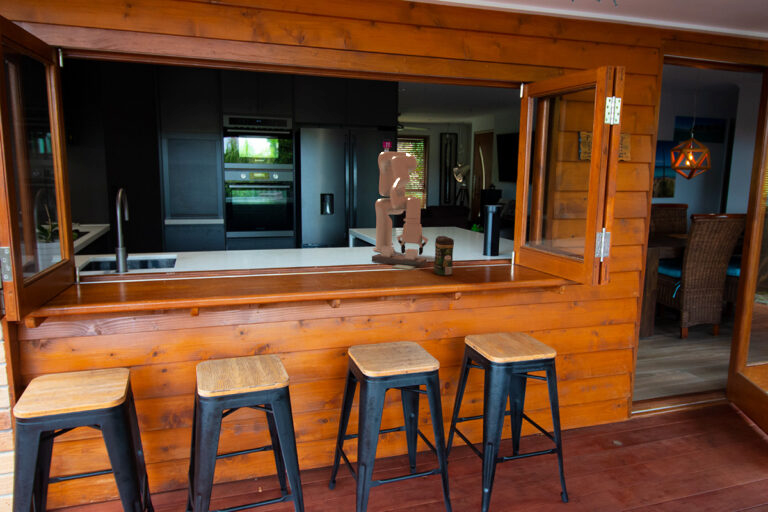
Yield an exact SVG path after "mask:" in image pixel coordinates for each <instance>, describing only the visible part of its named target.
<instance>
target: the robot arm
mask: <svg viewBox="0 0 768 512" xmlns="http://www.w3.org/2000/svg"><path fill="white" fill-rule="evenodd" d="M417 161H418V160H417V159H416V158H415V156H414V155H412V154H411V153H408V152H403V151H382V152H381V153H379V155H378V159H377V163H378V169H379V183H378V192H379V195H380V196H382V198H379V199H377V200H376V201H375V206H374V207H375V215H376V222H375V223H376V225H375V226H376V227H375V229H376V230H375V247H373V249H372V250H373V252H377V253H381V247H384V246H389V247H394V246H393V245H394V243H393V241H392V240H393V220H392V218H391V216H389V215H402V214H403V213H404V211H405V218H403V222H405V223H404V224H403V229H402V234H400V235H398V236H396V240H397V242H398V244H400V252H401V254H405V250H406V244H413V245H415V244H416V245H418V246H419V248H418V256H421V255H422V254H423V253H424V247H425V246H426V245H427V244H428V242H429V238H427V237H426V236H424V235H423V227H422V224H421V209H422V208H421V207H422V200H421V198H420V197H416V196H411V195H410V196H407V195H406V194H407V193H406V192H407V189H406V185H408V184H409V183H410V181H411V177H410V172H414V171H416V169H418V168H417V166H418V162H417ZM383 197H384V198H383ZM385 197H386V198H385ZM388 197H389V198H388Z"/></svg>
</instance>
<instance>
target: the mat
mask: <svg viewBox="0 0 768 512" xmlns="http://www.w3.org/2000/svg"><path fill="white" fill-rule="evenodd" d="M391 268H392V269H398V270H406V271H411V270H414V269H416V267H414V266H405V265H396V264H394V265H393V266H391Z"/></svg>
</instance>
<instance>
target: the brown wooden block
mask: <svg viewBox="0 0 768 512" xmlns="http://www.w3.org/2000/svg"><path fill="white" fill-rule="evenodd" d="M380 254H381V257H388V258H391V257H394V254H395V247H394V246H392V247H389V246H384V247H381V252H380Z"/></svg>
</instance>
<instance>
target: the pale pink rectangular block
mask: <svg viewBox="0 0 768 512" xmlns="http://www.w3.org/2000/svg"><path fill="white" fill-rule="evenodd" d="M404 257H405V260H414V261H415V260H417V259H418V258H419V248H418V249H417V248H407V249H405V253H404Z"/></svg>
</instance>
